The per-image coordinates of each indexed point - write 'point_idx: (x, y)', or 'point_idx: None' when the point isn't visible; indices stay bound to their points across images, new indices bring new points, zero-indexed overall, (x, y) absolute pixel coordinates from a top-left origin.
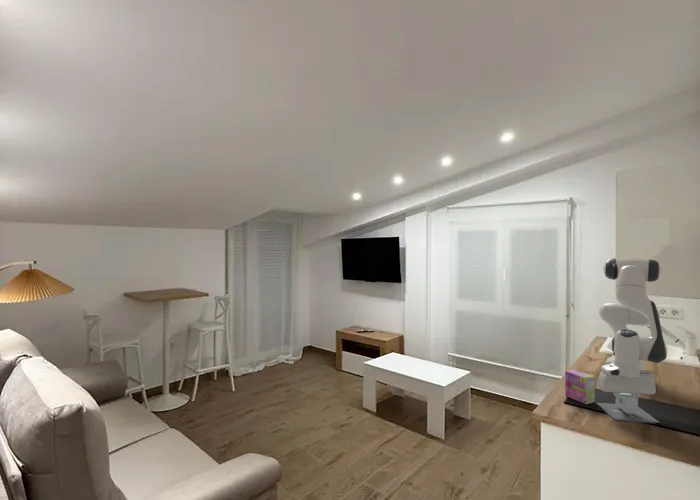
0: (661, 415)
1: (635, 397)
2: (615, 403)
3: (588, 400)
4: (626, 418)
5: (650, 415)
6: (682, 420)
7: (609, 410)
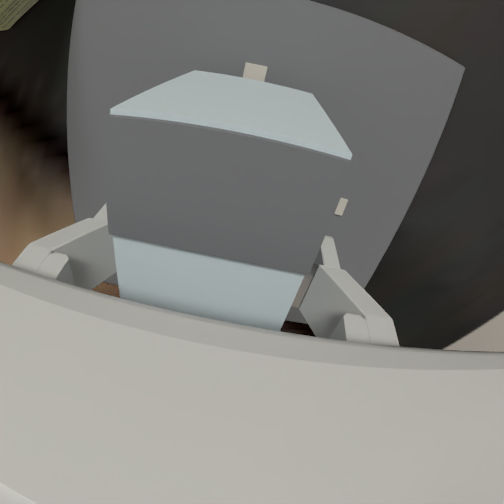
0: (472, 233)
1: (320, 319)
2: (192, 71)
3: (8, 13)
4: None
5: (382, 255)
6: (493, 291)
7: (99, 152)
